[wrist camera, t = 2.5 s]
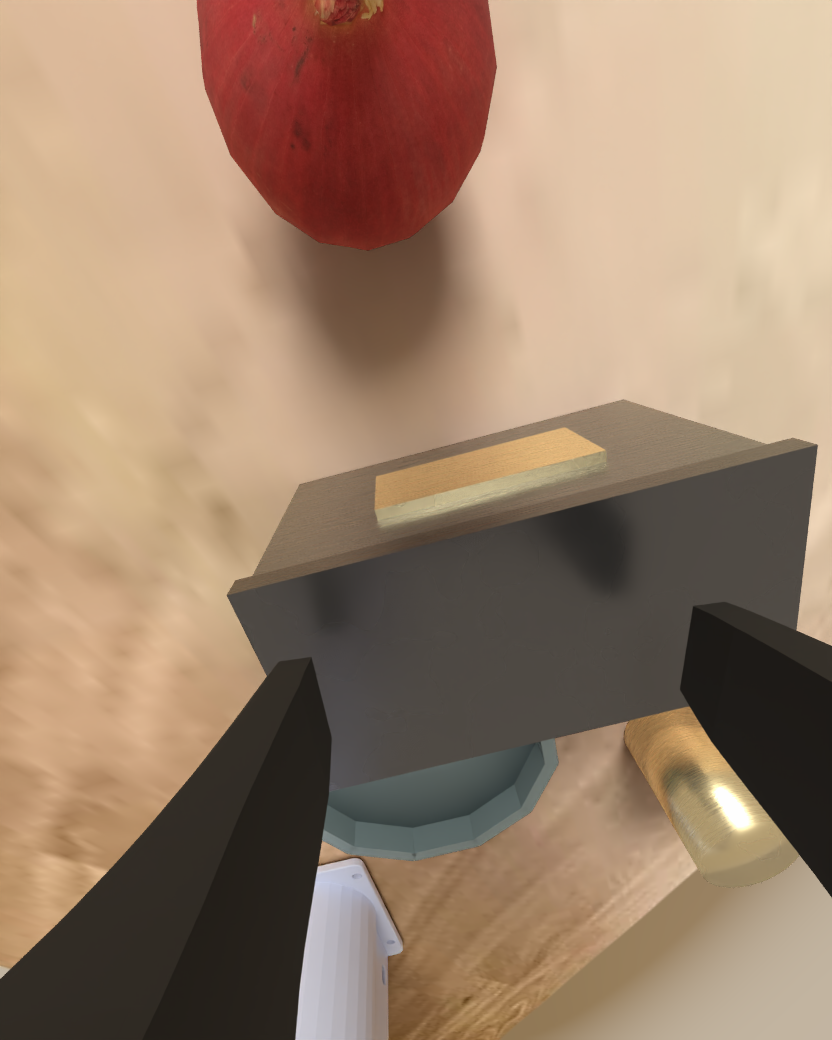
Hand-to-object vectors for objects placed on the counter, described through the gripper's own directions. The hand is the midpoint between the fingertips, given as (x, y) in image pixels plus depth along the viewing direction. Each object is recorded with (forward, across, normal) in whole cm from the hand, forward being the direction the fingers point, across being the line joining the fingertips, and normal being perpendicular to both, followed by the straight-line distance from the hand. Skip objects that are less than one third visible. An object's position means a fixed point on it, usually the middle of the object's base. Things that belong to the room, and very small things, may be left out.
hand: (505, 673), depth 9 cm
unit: (+9, -1, +1) cm, 9 cm away
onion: (+10, +2, -11) cm, 15 cm away
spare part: (+9, -10, +14) cm, 19 cm away
